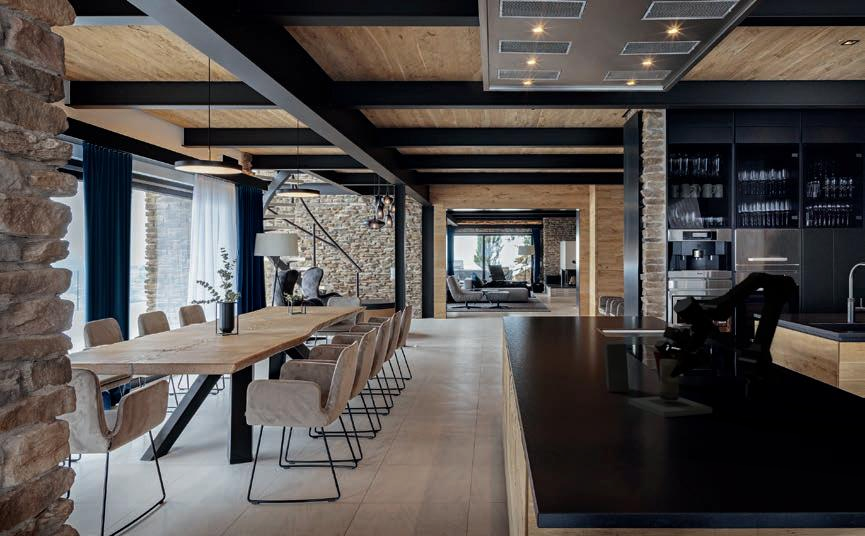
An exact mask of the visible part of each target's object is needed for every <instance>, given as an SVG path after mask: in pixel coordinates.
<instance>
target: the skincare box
mask: <svg viewBox="0 0 865 536" xmlns="http://www.w3.org/2000/svg"><path fill="white" fill-rule="evenodd" d="M604 360H605V361H604V362H605V363H604V364H605V375H606V378H605V379H606V388H607V390H608V392H612V393H613V392H614V393H618V392H619V393H629V392H630V386H629V371H628V369H629V368H628V354H627V344H626V343H625V342H624V341H605V342H604Z"/></svg>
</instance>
